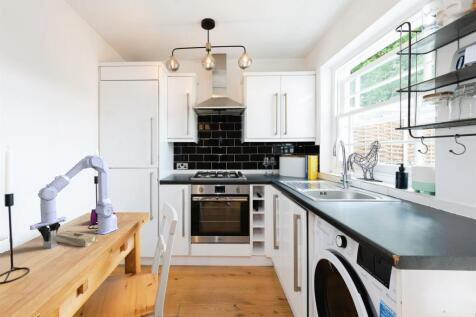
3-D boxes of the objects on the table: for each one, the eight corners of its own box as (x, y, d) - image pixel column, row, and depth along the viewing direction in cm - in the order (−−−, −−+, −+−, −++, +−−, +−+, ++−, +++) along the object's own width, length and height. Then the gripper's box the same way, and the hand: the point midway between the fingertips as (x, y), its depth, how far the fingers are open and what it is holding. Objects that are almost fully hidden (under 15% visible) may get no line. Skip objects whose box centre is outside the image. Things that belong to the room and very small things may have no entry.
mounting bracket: (101, 227, 160) (89, 223, 144) (102, 214, 164) (91, 209, 147) (115, 226, 162) (105, 222, 145) (117, 214, 165) (107, 208, 149)
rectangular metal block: (48, 245, 115) (48, 229, 115) (56, 246, 113) (56, 230, 112) (43, 246, 113) (42, 230, 112) (51, 248, 110) (50, 231, 110)
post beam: (68, 237, 125) (67, 230, 125) (97, 241, 118) (97, 235, 117) (55, 241, 119) (54, 234, 119) (85, 246, 112) (85, 239, 111)
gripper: (59, 208, 120) (60, 234, 121) (25, 215, 107) (26, 244, 107) (68, 209, 118) (69, 235, 118) (34, 216, 104) (36, 246, 105)
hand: (49, 240), depth 113 cm, fingers closed on rectangular metal block, 2 cm apart
